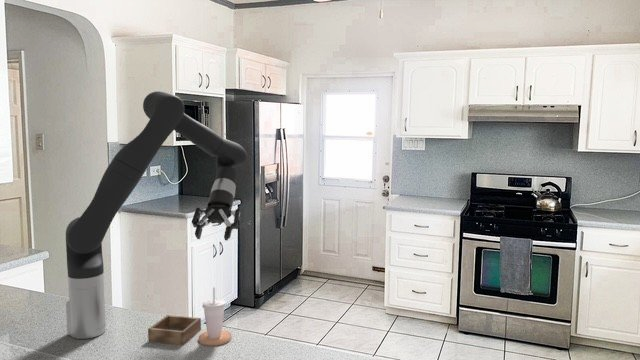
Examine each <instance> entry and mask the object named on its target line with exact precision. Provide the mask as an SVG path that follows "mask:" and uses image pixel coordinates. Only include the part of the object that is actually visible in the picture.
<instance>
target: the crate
mask: <svg viewBox="0 0 640 360" xmlns="http://www.w3.org/2000/svg"><path fill="white" fill-rule="evenodd" d="M174 329H175V330H174ZM176 329H177V330H176ZM200 331H202V318H201V317H195V316H194V317H192V316H184V315H183V316H182V315H181V316H180V315H171V314H166V316H164V317H162V318H161V319H160V320H159V321H157V322H156V323H155V324H153V325H151V326H150V327H149V328H148V329H147V337H148V338H147V341H148V342H152V343H162V344H172V345H173V344H174V345H181V346H182V345H183V346H184V345H185V344H187V343H188V342H189V341H190V340H191V339H193V337H194V336H196V335H197V334H198V333H199V332H200ZM195 334H196V335H195Z"/></svg>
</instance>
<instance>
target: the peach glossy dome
mask: <svg viewBox="0 0 640 360" xmlns="http://www.w3.org/2000/svg"><path fill="white" fill-rule="evenodd" d="M232 337H233V336H232V333H231V332H230V331H228V330H226V329H222V334H221V337H219V338H215V339H212V338H209V337H208V334H207V330H206V331H204V332H202V333H200V334H199V336H198V343H199V344H200V345H203V346H207V345H208V347H209V346H210V347H216V346H217V347H218V346H223V345H225V344H228V343H229V342H231V340H232Z"/></svg>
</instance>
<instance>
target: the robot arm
mask: <svg viewBox="0 0 640 360" xmlns="http://www.w3.org/2000/svg"><path fill="white" fill-rule="evenodd" d="M142 109H143V112H144V114H145V116H146V117H147V118H148V119H149V120H148V122H147V123H146V125H145V127H144V128H143V129H142V131H141V132H140V133H139V134H137V136H136V137H135V138H133V139H132V140H130V141H129V142H127V143H126V144H125V145H124V146H123V147H122V148H121V149H120V150H118V151H117V152H116V154H115V155H114V156H113V158H112V160H111V161H110V163H109V164H108V166H107V168H106V169H105V171H104V173H103V175H102V176H101V179H100V182H99V184H98V186H97V188H96V191H95V193H94V195H93V198H92V199H91V202H90V203H89V205H88V206H87V208H86V209H85V210H84V212H83V213H82V214H81V215H80V216H78V217H76V218H74V219H73V220H71V221H70V222H69V224H67V227H66V230H65V248H66V267H67V283H68V284H67V287H68V301H66V303H65V310H66V313H65V314H66V316H65V317H66V332H67V333H66V334H67V336H69V337H71V338H73V339H79V340H83V339H84V340H85V339H86V340H87V339H93V338H95V337H99V336H101V335H103V334H104V333H105V332H106V331H107V327H106V326H107V324H106V323H107V322H106V319H107V318H106V302H105V301H106V299H105V298H106V297H105V275H104V273H105V272H104V271H105V269H104V267H105V266H104V258H103V247H102V246H103V240H104V238H105V237H106V234H107V232H108V229H109V228H110V226H111V224H112V222H113V220H114V219H115V217H116V215H117V213H118V212H119V211H120V209H121V208H122V206H123V205H124V203H126V201H127V200H128V198H129V196H131V194H132V193H133V191H134V190H135V188H136V187H137V186H138V183H139V182H140V181H141V178H143V176H144V174H145V172H146V170H147V169H148V167H149V165H150V164H151V163H152V161H153V159H154V158H155V156H156V155H157V153H158V152H159V150H160V148H161V147H162V145H163V144H164V143H165V142H166V140H167V139H168V137H169V136H170V135H171V134H172V133H173V131H175V132H176V133H178V134H180V135H181V136H182V137H184V138H185V139H187V140H188V141H189V142H190V143H192V144H193V145H195V146H196V147H197V148H199V149H201V150H202V151H203V152H204V153H206V154H208V155H209V156H210V157H215V167H216V168H215V169H216V170H215V171H216V174H215V175H216V176H215V178H214V183H213V184H212V187H211V190H210V195H209V198H208V201H207V206H206V208H205V209H201V208H200V207H196V208H195V210H194V214H193V217H192V219H191V224H192V226H193V227H192V228H195V231H194V235H195V238H196V239H197V240H201V236H202V233H203V228H205V227H206V226H209V225H210V224H219V225H220V224H223V223H224V225H225V226H226V227H225V231H224V235H223V236H224V237H223V238H224V241H228V240H229V239H231V235H232V232H233V230H238V229H239V228H240V220H241V212H240V209H239V208H236V209H235V210H232V208H233V204H234V203H233V202H234V200H235V199H234V198H236V197H235V195H236V188H237V182H238V178H239V177H238V176H239V174H238V171H237V170H236V168H237V167H241V166H242V165H244V164H245V163H246V162H247V161H248V154H247V151H246V150H245V148H244V147H243V146H242V145H241V144H239V143H238V142H235V141H232V140H229V139H226V138H224V137H222V136H221V135H219V134H218V133H217V132H215V131H213V130H212V129H211V128H210V127H208V126H206V125H204V124H203V123H201V122H199V121H197V120H196V119H194V118H192V117H191V116H189V115H188V114H186V113H185V104H184V101H183V100H182V98H180V97H179V96H177V95H174V94H172V93H168V92H165V91H160V90H157V91H153V92H150V93H148V94H147V95H146V96H145V98H144V100H143V102H142ZM232 216H233V222H231V221H230V220H229V218H231V217H232Z"/></svg>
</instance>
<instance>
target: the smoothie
mask: <svg viewBox="0 0 640 360" xmlns="http://www.w3.org/2000/svg"><path fill="white" fill-rule="evenodd" d="M226 305H227V303H226V300H225V299H222V298H216V288H215V286H213V288H212V298H209V299H206V300H204V301H203V302H202V308H203V313H204V319H205V326H206V331H207V334H208V337H209V338H212V339H215V338H219V337H221V334H222V330H223V323H224V315H225V308H226Z"/></svg>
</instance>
